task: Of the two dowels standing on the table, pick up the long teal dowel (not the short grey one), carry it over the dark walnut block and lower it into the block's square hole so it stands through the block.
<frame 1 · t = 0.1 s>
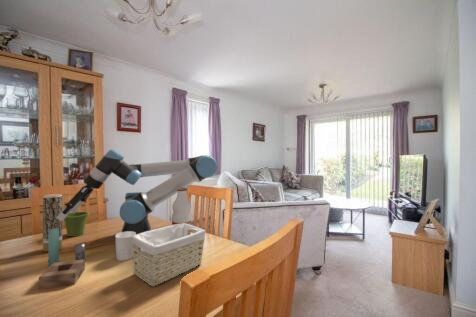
hand: (65, 215, 103), 15 cm above the table, tool tilted 35°, fingers open, 13 cm apart
short pin: (80, 261, 91), on the table
fruit juice: (181, 244, 111), on the table
storage basket: (169, 270, 86), on the table
plant pot: (75, 234, 121), on the table
white cup: (125, 257, 96), on the table
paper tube: (52, 249, 102), on the table
long pin: (53, 264, 88), on the table
hole block: (63, 278, 79), on the table
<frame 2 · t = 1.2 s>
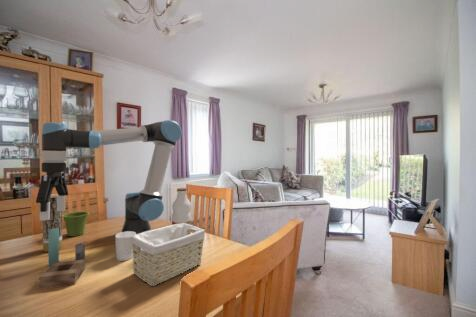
hand: (53, 215, 88), 20 cm above the table, tool pointing down, fingers open, 13 cm apart
nothing on the table moved.
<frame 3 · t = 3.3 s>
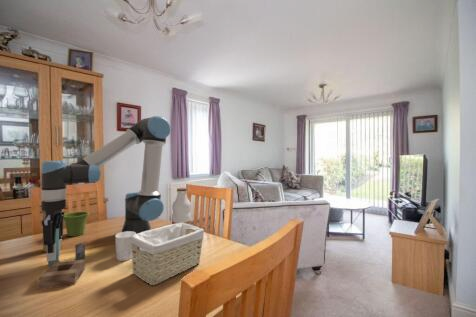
hand: (53, 258, 88), 3 cm above the table, tool pointing down, fingers closed on long pin, 3 cm apart
long pin: (53, 264, 88), on the table, touching gripper
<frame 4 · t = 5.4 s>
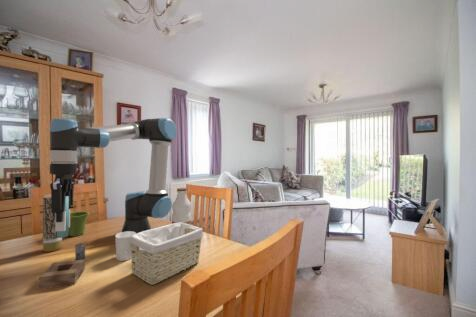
hand: (62, 228, 78), 18 cm above the table, tool pointing down, fingers closed on long pin, 3 cm apart
long pin: (62, 236, 78), point 15 cm above the table, touching gripper
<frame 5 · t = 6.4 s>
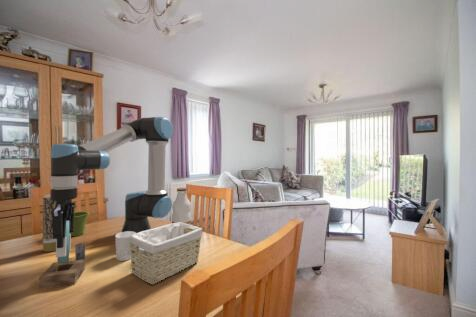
hand: (63, 253, 78), 9 cm above the table, tool pointing down, fingers closed on long pin, 3 cm apart
long pin: (63, 261, 78), point 6 cm above the table, touching gripper
when the fingers open (6 cm above the table, at t = 7.3 s): long pin drops 2 cm, resting in hole block.
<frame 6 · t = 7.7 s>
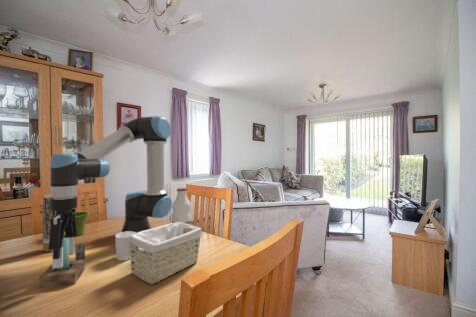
hand: (63, 260, 79), 6 cm above the table, tool pointing down, fingers open, 9 cm apart
long pin: (63, 278, 79), resting in hole block
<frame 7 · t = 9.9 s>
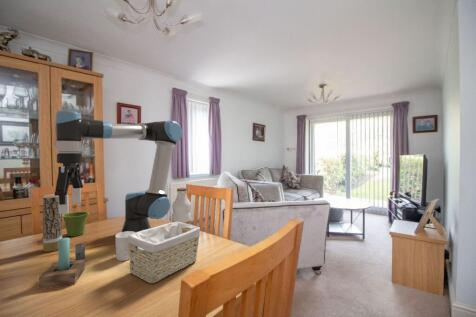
hand: (70, 208, 84), 24 cm above the table, tool pointing down, fingers open, 13 cm apart
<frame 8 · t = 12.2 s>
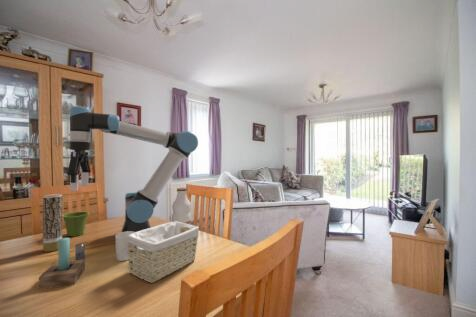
hand: (79, 188, 101), 29 cm above the table, tool pointing down, fingers open, 13 cm apart
at the end: long pin 0.2 cm off-centre on the hole block, point 0.0 cm above the hole block's base; long pin tilted 0°; the gripper is holding nothing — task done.
